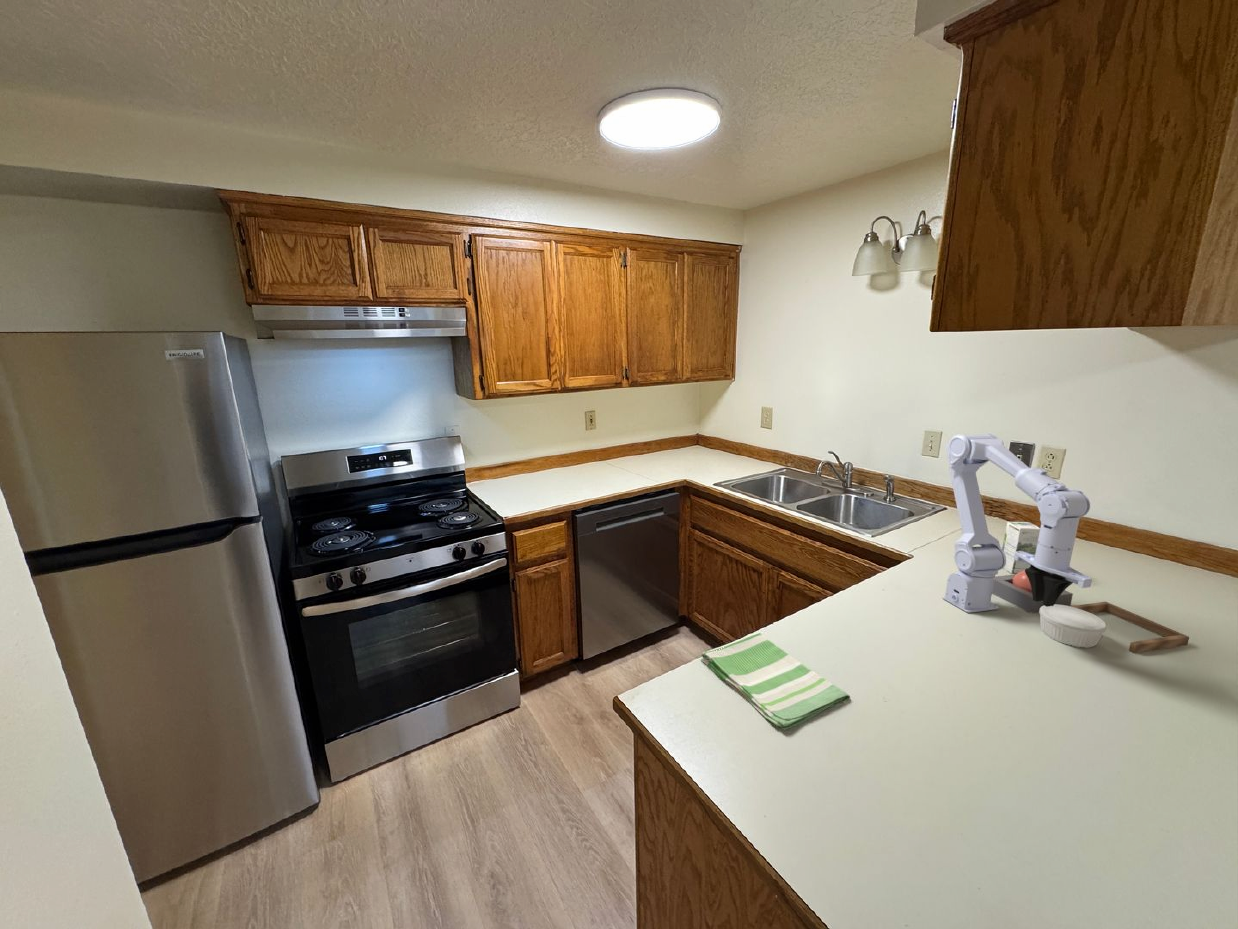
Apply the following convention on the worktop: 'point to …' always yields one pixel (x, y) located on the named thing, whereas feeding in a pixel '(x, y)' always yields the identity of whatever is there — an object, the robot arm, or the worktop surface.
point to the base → (1023, 594)
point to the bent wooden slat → (1169, 635)
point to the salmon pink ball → (1022, 581)
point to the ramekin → (1071, 625)
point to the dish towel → (773, 680)
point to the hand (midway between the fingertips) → (1043, 603)
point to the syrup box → (1019, 544)
